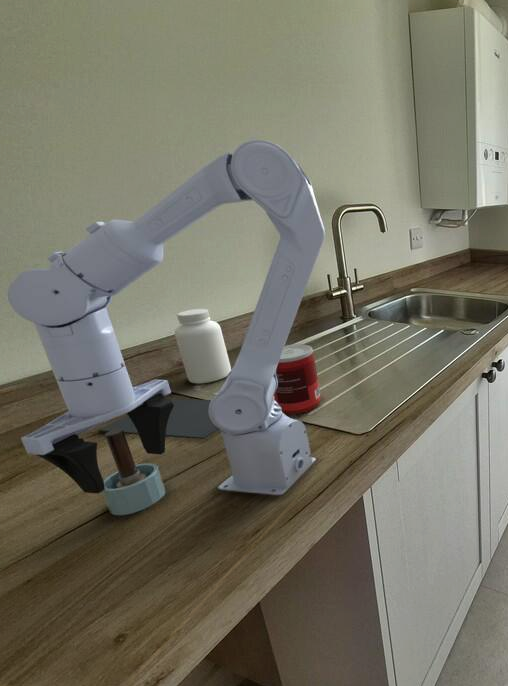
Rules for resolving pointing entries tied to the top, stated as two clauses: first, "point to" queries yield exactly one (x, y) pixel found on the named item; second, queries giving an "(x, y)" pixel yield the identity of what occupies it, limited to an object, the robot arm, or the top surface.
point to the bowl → (134, 491)
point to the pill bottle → (201, 347)
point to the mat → (177, 420)
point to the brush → (123, 459)
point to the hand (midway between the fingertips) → (127, 470)
